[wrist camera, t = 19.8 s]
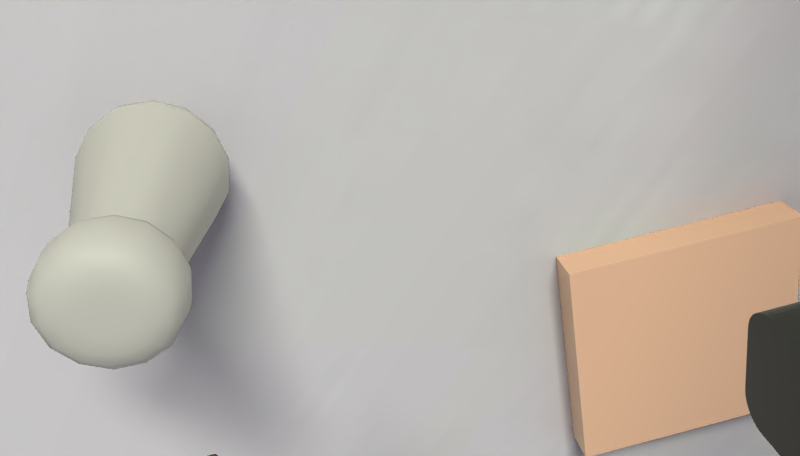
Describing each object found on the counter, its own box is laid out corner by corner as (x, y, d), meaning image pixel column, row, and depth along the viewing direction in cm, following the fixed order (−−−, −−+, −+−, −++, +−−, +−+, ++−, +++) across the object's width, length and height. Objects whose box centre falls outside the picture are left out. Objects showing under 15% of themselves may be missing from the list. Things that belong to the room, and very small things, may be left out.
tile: (569, 274, 35) (585, 457, 40) (804, 216, 36) (789, 403, 41) (552, 252, 37) (570, 429, 42) (775, 197, 38) (764, 378, 43)
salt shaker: (113, 227, 32) (28, 424, 20) (69, 101, 29) (-56, 245, 18) (246, 201, 33) (237, 380, 21) (215, 75, 30) (184, 200, 18)
